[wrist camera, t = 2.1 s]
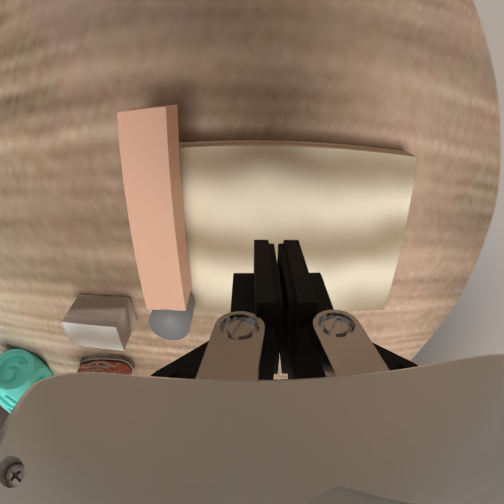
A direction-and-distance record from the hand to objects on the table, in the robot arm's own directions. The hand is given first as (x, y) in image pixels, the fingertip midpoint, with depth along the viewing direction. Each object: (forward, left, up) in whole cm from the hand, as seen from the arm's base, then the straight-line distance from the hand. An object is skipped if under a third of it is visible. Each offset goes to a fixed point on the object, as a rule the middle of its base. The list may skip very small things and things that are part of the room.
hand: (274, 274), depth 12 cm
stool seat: (+6, -4, -13) cm, 15 cm away
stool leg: (+2, -7, -10) cm, 13 cm away
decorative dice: (+26, -34, -14) cm, 45 cm away
